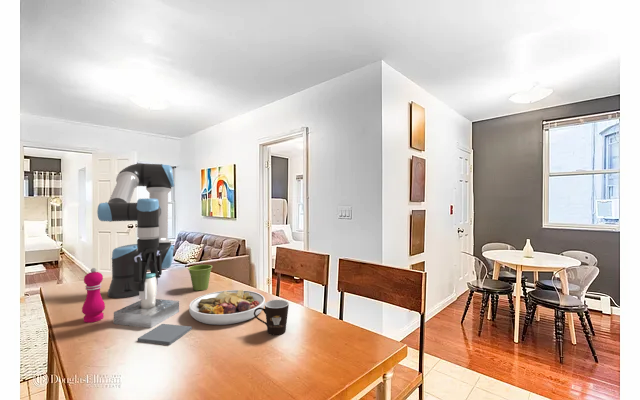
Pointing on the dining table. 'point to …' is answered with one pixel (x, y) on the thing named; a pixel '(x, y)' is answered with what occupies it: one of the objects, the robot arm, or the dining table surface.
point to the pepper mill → (93, 297)
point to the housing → (146, 313)
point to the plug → (150, 292)
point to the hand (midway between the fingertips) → (148, 296)
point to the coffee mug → (275, 316)
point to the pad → (165, 334)
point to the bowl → (226, 307)
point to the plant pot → (200, 276)
